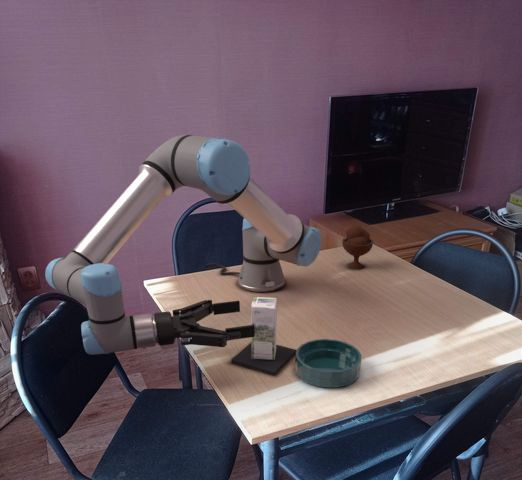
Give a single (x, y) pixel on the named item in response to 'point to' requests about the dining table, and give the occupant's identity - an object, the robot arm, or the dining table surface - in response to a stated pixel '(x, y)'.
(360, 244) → the ice cream bowl
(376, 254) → the dining table surface
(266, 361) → the mat
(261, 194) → the robot arm
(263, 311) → the syrup box
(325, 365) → the bowl
